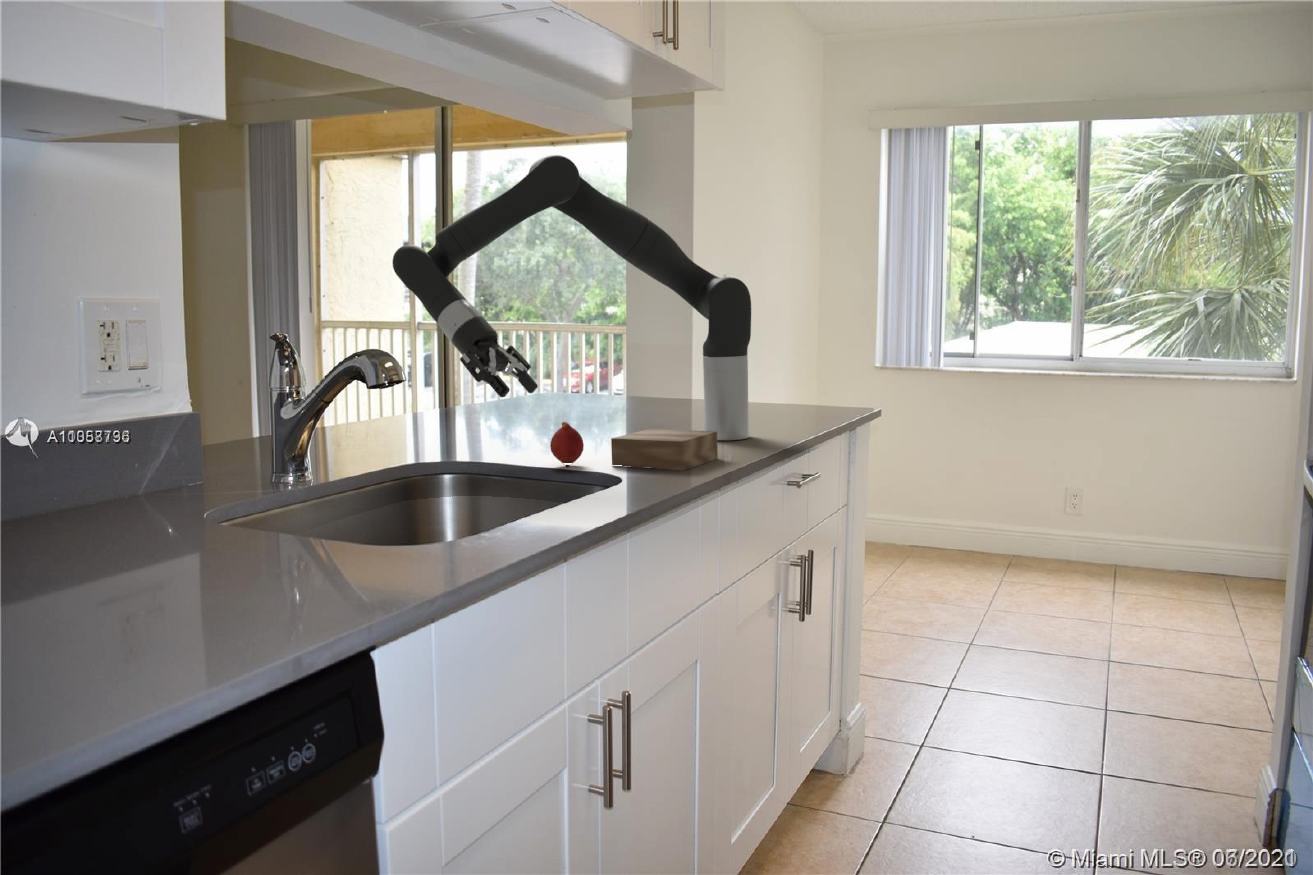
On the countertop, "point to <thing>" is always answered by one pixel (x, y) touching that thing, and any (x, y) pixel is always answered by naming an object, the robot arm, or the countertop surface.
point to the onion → (567, 444)
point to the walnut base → (665, 449)
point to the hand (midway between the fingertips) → (520, 392)
